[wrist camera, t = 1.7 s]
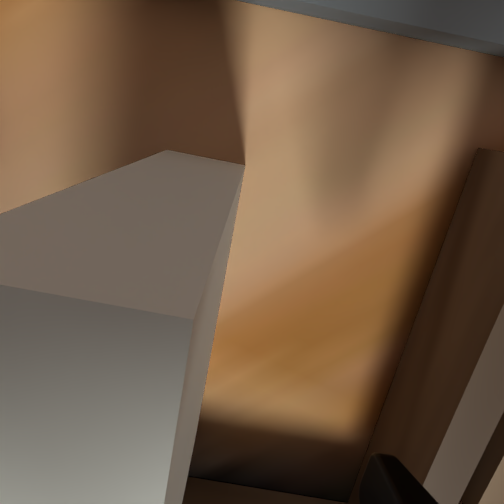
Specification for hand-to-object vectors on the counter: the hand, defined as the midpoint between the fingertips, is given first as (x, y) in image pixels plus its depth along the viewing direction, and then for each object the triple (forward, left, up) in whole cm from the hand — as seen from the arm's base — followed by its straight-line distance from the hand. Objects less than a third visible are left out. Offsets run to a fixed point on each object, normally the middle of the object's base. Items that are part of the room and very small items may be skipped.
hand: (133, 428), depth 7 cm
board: (0, 0, -4) cm, 4 cm away
